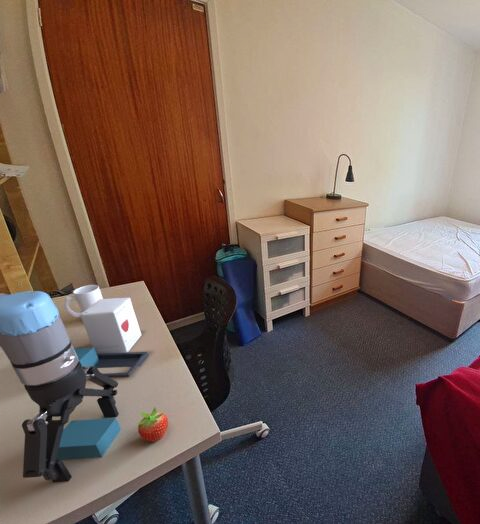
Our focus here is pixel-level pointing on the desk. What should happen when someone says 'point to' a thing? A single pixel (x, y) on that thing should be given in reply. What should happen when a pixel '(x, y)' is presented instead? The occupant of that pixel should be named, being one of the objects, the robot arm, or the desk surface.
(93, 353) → the seated pad
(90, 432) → the loose blue pad
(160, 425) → the fruit
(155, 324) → the desk surface
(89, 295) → the mug
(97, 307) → the rectangular carton
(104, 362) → the backing tray
